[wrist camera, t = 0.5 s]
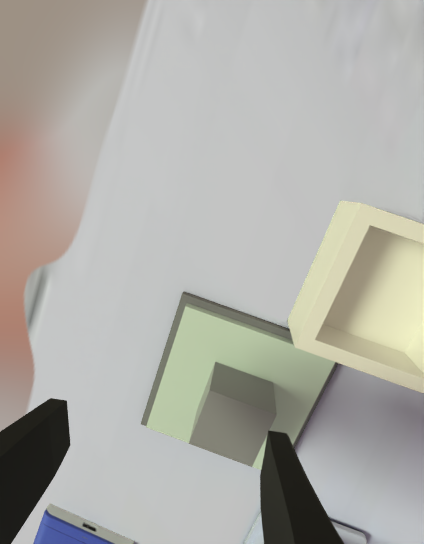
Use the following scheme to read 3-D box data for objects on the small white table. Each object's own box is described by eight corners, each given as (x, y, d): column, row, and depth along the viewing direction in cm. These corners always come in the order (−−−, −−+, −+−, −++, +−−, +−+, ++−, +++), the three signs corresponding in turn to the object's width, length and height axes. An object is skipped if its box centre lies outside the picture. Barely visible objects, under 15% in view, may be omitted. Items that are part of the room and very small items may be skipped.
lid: (276, 468, 22) (280, 519, 19) (148, 421, 23) (130, 462, 19) (333, 355, 20) (351, 390, 16) (187, 302, 20) (174, 326, 16)
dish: (406, 362, 20) (438, 398, 16) (287, 320, 20) (294, 347, 16) (475, 246, 17) (528, 259, 14) (340, 200, 18) (361, 203, 14)
